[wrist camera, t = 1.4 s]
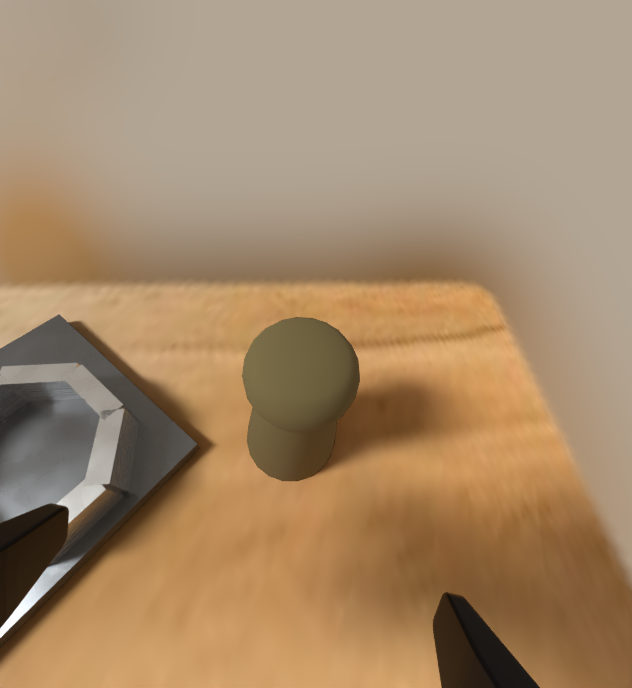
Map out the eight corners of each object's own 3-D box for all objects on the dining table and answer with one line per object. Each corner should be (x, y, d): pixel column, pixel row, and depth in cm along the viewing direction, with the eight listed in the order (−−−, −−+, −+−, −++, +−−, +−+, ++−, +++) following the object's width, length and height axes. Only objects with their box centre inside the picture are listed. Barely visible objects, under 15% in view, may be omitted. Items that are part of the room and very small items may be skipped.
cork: (289, 503, 20) (304, 463, 11) (228, 433, 22) (196, 348, 13) (352, 436, 23) (406, 358, 13) (293, 379, 25) (305, 276, 15)
